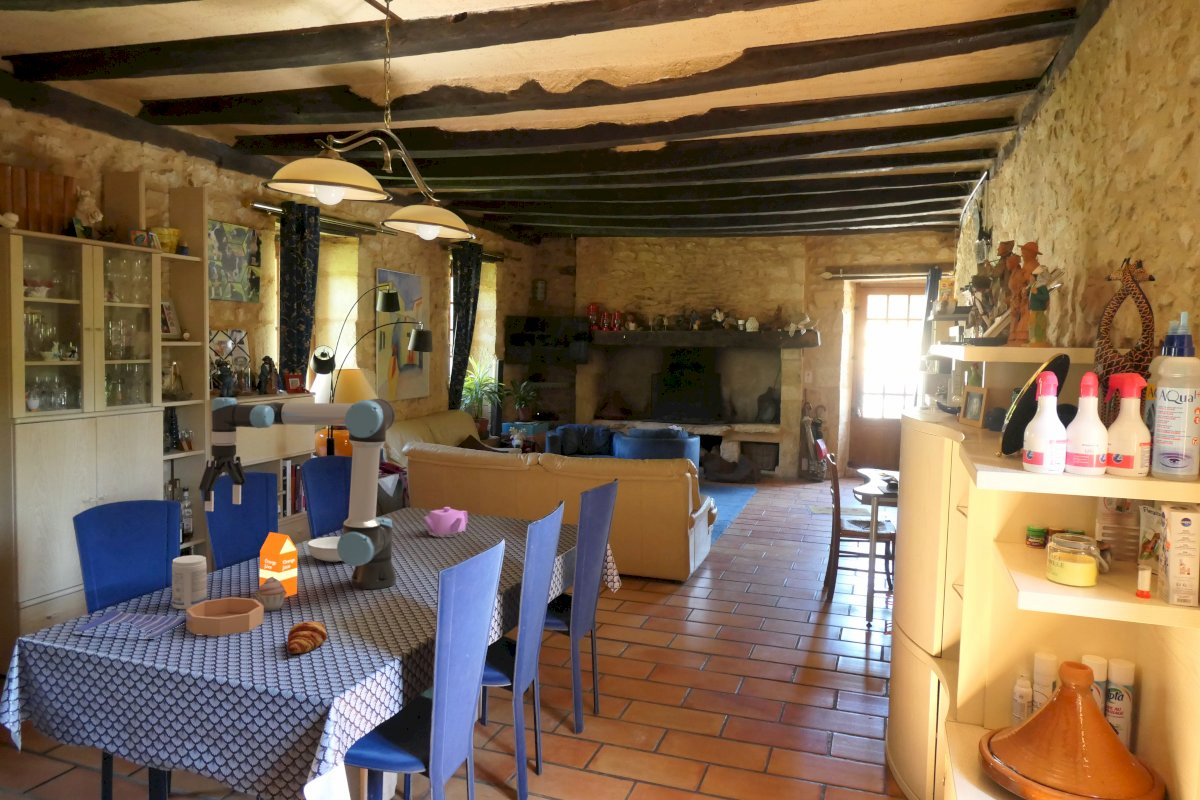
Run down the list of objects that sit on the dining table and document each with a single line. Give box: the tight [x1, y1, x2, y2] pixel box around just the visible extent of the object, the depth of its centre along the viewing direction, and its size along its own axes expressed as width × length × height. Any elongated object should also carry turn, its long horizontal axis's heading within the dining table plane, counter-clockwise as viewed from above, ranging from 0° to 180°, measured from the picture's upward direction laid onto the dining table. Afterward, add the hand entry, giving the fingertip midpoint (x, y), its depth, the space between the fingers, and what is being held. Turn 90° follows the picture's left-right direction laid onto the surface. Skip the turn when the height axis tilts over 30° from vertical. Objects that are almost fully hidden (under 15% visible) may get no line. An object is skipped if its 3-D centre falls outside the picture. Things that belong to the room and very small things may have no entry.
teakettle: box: [423, 506, 469, 535], centre depth 362 cm, size 17×17×12 cm
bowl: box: [185, 596, 264, 637], centre depth 235 cm, size 19×19×5 cm
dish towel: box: [74, 609, 186, 638], centre depth 230 cm, size 17×24×3 cm
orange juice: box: [259, 531, 299, 598], centre depth 266 cm, size 8×9×20 cm
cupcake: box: [254, 576, 287, 612], centre depth 252 cm, size 9×9×10 cm
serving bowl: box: [307, 536, 344, 563], centre depth 313 cm, size 21×21×7 cm
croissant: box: [286, 620, 328, 655], centre depth 223 cm, size 21×10×8 cm, turn 179°
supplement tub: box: [171, 554, 208, 610], centre depth 251 cm, size 10×10×15 cm
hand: (223, 507), depth 271 cm, fingers open, 13 cm apart
